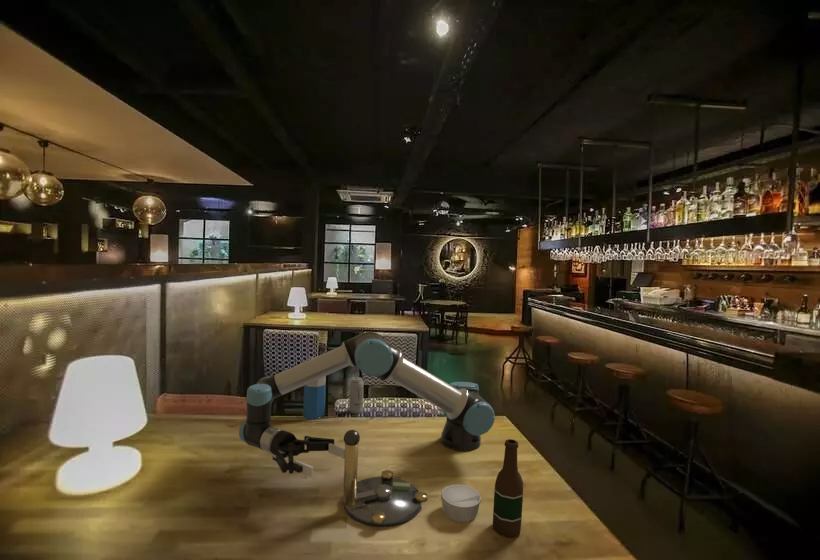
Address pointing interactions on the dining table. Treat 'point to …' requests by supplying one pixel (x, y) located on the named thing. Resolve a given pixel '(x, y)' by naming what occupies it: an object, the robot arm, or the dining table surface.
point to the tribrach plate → (387, 502)
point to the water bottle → (314, 399)
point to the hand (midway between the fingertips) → (329, 462)
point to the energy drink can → (356, 395)
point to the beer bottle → (508, 494)
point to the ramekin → (460, 502)
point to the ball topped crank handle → (350, 475)
